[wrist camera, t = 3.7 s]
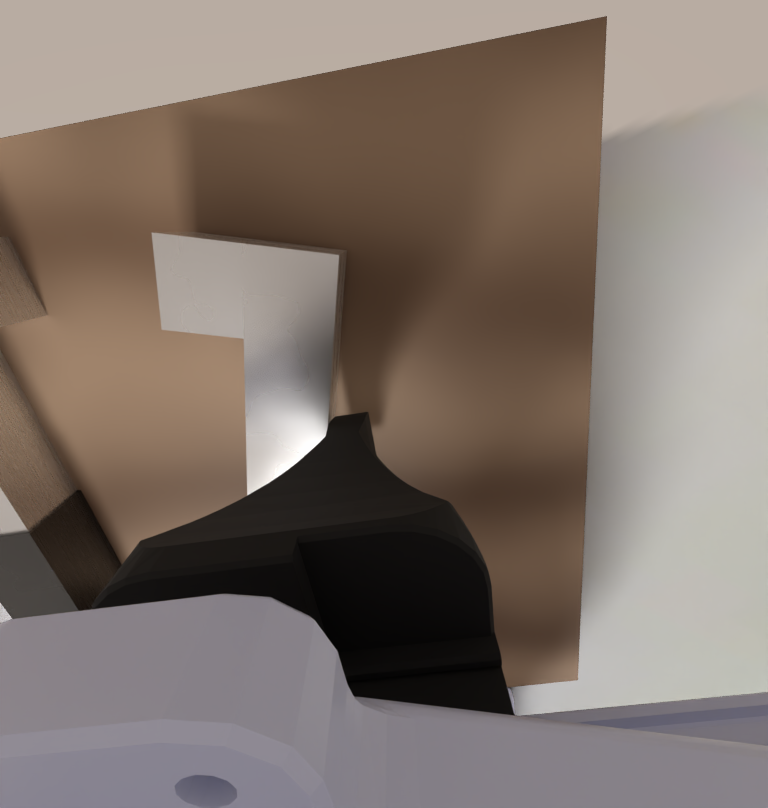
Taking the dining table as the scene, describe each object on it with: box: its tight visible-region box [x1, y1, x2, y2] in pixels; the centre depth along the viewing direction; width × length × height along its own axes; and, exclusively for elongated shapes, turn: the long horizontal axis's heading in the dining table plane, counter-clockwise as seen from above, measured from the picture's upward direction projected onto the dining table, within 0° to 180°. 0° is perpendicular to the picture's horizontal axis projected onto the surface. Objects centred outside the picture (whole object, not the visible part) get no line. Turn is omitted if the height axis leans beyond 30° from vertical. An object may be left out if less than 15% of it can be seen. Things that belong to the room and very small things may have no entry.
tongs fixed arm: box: [0, 237, 122, 619], centre depth 12 cm, size 14×4×2 cm, turn 9°
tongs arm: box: [152, 232, 347, 495], centre depth 13 cm, size 18×6×2 cm, turn 173°
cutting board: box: [0, 16, 607, 687], centre depth 14 cm, size 22×21×2 cm
